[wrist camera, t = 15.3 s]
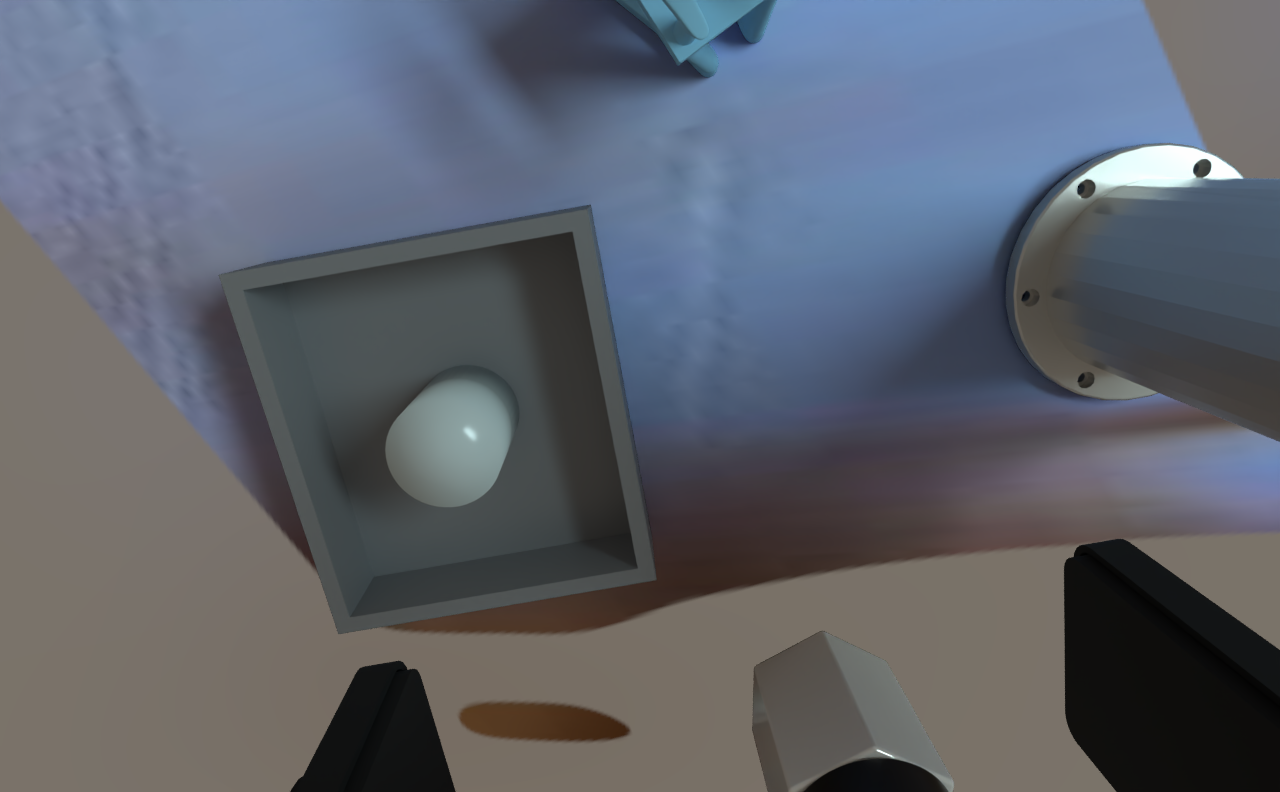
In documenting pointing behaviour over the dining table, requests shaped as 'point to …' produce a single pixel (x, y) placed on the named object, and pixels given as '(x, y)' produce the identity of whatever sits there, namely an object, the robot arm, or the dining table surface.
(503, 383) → the pale green capsule
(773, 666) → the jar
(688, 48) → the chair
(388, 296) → the bin
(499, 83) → the dining table surface
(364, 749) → the robot arm
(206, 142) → the dining table surface
